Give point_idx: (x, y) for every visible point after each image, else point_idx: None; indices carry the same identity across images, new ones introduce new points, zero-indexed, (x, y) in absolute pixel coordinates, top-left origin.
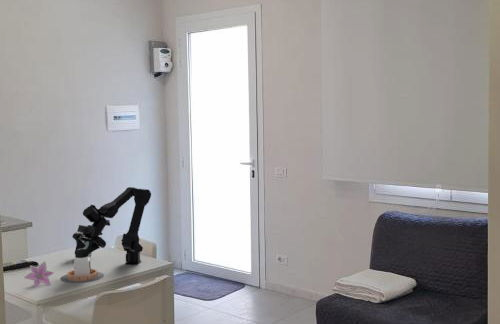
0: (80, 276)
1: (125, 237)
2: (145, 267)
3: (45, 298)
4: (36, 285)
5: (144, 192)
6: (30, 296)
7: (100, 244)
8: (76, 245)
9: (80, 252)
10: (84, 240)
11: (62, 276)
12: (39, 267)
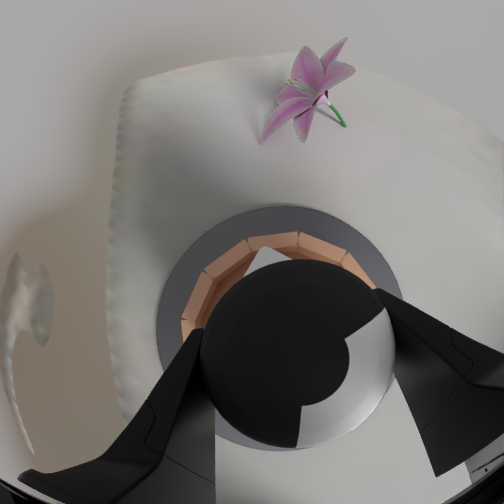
0: (199, 277)
1: None
2: None
3: (130, 98)
4: (279, 97)
5: None
6: (187, 71)
7: (40, 499)
8: (467, 338)
9: (221, 298)
10: (458, 496)
11: (373, 247)
12: (330, 67)
